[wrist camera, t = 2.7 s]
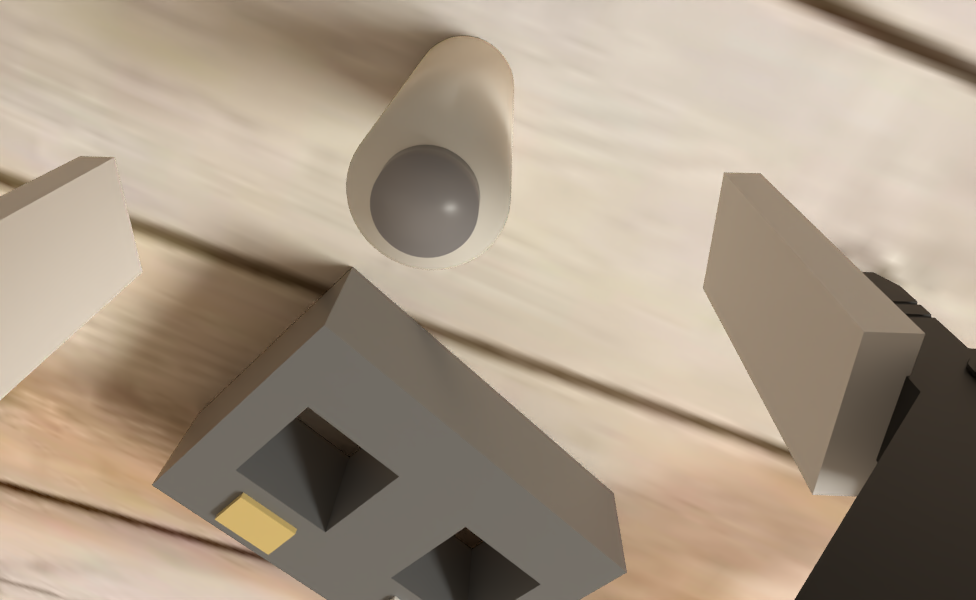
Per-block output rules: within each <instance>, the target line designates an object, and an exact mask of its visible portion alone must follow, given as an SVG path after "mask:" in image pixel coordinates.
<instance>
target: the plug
mask: <svg viewBox="0 0 976 600" xmlns="http://www.w3.org/2000/svg"><path fill="white" fill-rule="evenodd" d="M513 110H514V80H513V75H512V72H511V69H510V66H509V64H508V62H507V61H506V59H505V57H504V56H503V55H502V54H501V52H500V51H499V50H497V49H496V48H495V47H494V46H493V45H491V44H490V43H488V42H486V41H484V40H482V39H479V38H476V37H472V36H456V37H451V38H448V39H445V40H443V41H441V42H439V43H438V44H436V45H435V46H434V47H432V48H431V49H430V50H429V51H428V52H427V54H426V55H425V56H424V58H423V59H422V60H421V62H420V63H419V64H418V66H417V67H416V68H415V70H414V71H413V73H412V74H411V75H410V77H409V78H408V79H407V81H406V82H405V83H404V85H403V86H402V88H401V89H400V90H399V92H398V93H397V94H396V96H395V97H394V99H393V100H392V101H391V103H390V104H389V105H388V107H387V108H386V109H385V111H384V112H383V114H382V115H381V116H380V118H379V119H378V120H377V122H376V123H375V124H374V126H373V127H372V129H371V130H370V131H369V133H368V134H367V135H366V137H365V138H364V139H363V141H362V142H361V144H360V145H359V147H358V148H357V150H356V152H355V153H354V155H353V158H352V160H351V162H350V166H349V169H348V173H347V182H346V193H347V200H348V205H349V209H350V212H351V215H352V217H353V219H354V222H355V224H356V225H357V227H358V229H359V230H360V232H361V233H362V235H363V236H364V237H365V238H366V240H367V241H368V242H369V243H370V244H371V245H372V246H373V247H374V248H375V249H377V250H378V251H379V252H381V253H382V254H383V255H385V256H386V257H388V258H390V259H391V260H394V261H396V262H398V263H400V264H403V265H406V266H409V267H413V268H417V269H425V270H442V269H449V268H453V267H457V266H460V265H463V264H465V263H468V262H470V261H472V260H473V259H475V258H477V257H478V256H480V255H481V254H482V253H484V252H485V251H486V250H487V249H488V248H489V247H490V246H491V245H492V244H493V243H494V242H495V240H496V239H497V238H498V236H499V235H500V233H501V231H502V229H503V228H504V225H505V223H506V220H507V218H508V213H509V209H510V201H511V175H512V142H513Z"/></svg>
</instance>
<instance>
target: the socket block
mask: <svg viewBox="0 0 976 600" xmlns="http://www.w3.org/2000/svg"><path fill="white" fill-rule="evenodd" d="M307 407H309V408H310V409H311V410H313V411H314V412H315V413H316V414H318V415H319V416H320V417H322V418H323V419H324V420H326V421H327V422H328V423H330V424H331V425H332V426H334V427H335V428H336V429H337V430H339V431H340V432H341V433H343V434H344V435H345V436H347V437H348V438H349V439H351V440H352V441H353V442H355V443H356V444H357V445H359V446H360V447H361V449H359V450H358V451H357V452H356V453H354V454H353V455H352V456H351V457H348V456H347V455H345V454H344V453H343V452H341V451H340V450H339V449H337V448H336V447H335V446H333V445H332V444H331V443H329V442H328V441H327V440H325V439H324V438H323V437H321V436H320V435H319V434H317V433H316V432H315V431H313V430H312V429H311V428H309V427H308V426H307V425H305V424H304V423H303V422H301V421H300V420H299V419H297V418H296V417H297V416H298V415H299V414H301V413H302V412H303V411H304V410H305V409H306V408H307ZM152 485H153V486H154V487H156V488H157V489H159V490H160V491H162V492H163V493H165V494H166V495H168V496H169V497H171V498H172V499H174V500H175V501H177V502H179V503H180V504H182V505H183V506H185V507H186V508H188V509H189V510H191V511H192V512H194V513H195V514H197V515H198V516H200V517H201V518H203V519H204V520H206V521H208V522H209V523H211V524H212V525H214V526H215V527H217V528H218V529H220V530H221V531H223V532H224V533H226V534H227V535H229V536H230V537H232V538H234V539H235V540H237V541H238V542H240V543H241V544H243V545H244V546H246V547H247V548H249V549H250V550H252V551H253V552H255V553H256V554H258V555H260V556H261V557H263V558H264V559H266V560H267V561H269V562H270V563H272V564H273V565H275V566H276V567H278V568H279V569H281V570H282V571H284V572H286V573H287V574H289V575H290V576H292V577H293V578H295V579H296V580H298V581H299V582H301V583H302V584H304V585H305V586H307V587H308V588H310V589H311V590H313V591H315V592H316V593H318V594H319V595H321V596H322V597H324V598H325V599H327V600H580V599H582V598H583V597H585V596H587V595H589V594H590V593H592V592H594V591H595V590H597V589H599V588H601V587H602V586H604V585H606V584H608V583H609V582H611V581H613V580H614V579H616V578H618V577H620V576H621V575H623V574H625V573H627V570H626V564H625V558H624V552H623V546H622V540H621V534H620V528H619V522H618V516H617V510H616V504H615V498H614V493H613V492H611V491H610V490H609V489H608V488H607V487H606V486H604V485H603V484H602V483H601V482H600V481H599V480H598V479H596V478H595V477H594V476H593V475H592V474H591V473H589V472H588V471H587V470H586V469H585V468H584V467H583V466H581V465H580V464H579V463H578V462H577V461H576V460H575V459H573V458H572V457H571V456H570V455H569V454H568V453H566V452H565V451H564V450H563V449H562V448H561V447H560V446H558V445H557V444H556V443H555V442H554V441H553V440H551V439H550V438H549V437H548V436H547V435H546V434H545V433H543V432H542V431H541V430H540V429H539V428H538V427H536V426H535V425H534V424H533V423H532V422H531V421H530V420H528V419H527V418H526V417H525V416H524V415H523V414H521V413H520V412H519V411H518V410H517V409H516V408H515V407H513V406H512V405H511V404H510V403H509V402H508V401H507V400H505V399H504V398H503V397H502V396H501V395H500V394H498V393H497V392H496V391H495V390H494V389H493V388H492V387H490V386H489V385H488V384H487V383H486V382H485V381H483V380H482V379H481V378H480V377H479V376H478V375H477V374H475V373H474V372H473V371H472V370H471V369H470V368H468V367H467V366H466V365H465V364H464V363H463V362H462V361H460V360H459V359H458V358H457V357H456V356H455V355H453V354H452V353H451V352H450V351H449V350H448V349H447V348H445V347H444V346H443V345H442V344H441V343H440V342H439V341H437V340H436V339H435V338H434V337H433V336H432V335H430V334H429V333H428V332H427V331H426V330H425V329H424V328H422V327H421V326H420V325H419V324H418V323H417V322H415V321H414V320H413V319H412V318H411V317H410V316H409V315H407V314H406V313H405V312H404V311H403V310H402V309H400V308H399V307H398V306H397V305H396V304H395V303H394V302H392V301H391V300H390V299H389V298H388V297H387V296H385V295H384V294H383V293H382V292H381V291H380V290H379V289H377V288H376V287H375V286H374V285H373V284H372V283H371V282H369V281H368V280H367V279H366V278H365V277H364V276H362V275H361V274H360V273H359V272H358V271H357V270H356V269H354V268H353V267H352V268H351V269H350V270H349V271H348V272H347V273H346V274H345V275H344V276H343V277H342V278H341V279H340V280H339V281H338V282H337V283H336V284H334V285H333V286H332V287H331V288H330V289H329V290H328V291H327V292H326V293H325V294H324V295H323V296H322V297H321V298H320V299H319V300H318V301H317V302H316V303H315V304H314V305H312V306H311V307H310V308H309V309H308V310H307V311H306V312H305V313H304V314H303V315H302V316H301V317H300V318H299V319H298V320H297V321H296V322H295V323H294V324H293V325H291V326H290V327H289V328H288V329H287V330H286V331H285V332H284V333H283V334H282V335H281V336H280V337H279V338H278V339H277V340H276V341H275V342H274V343H273V344H272V345H270V346H269V347H268V348H267V349H266V350H265V351H264V352H263V353H262V354H261V355H260V356H259V357H258V358H257V359H256V360H255V361H254V362H253V363H252V364H251V365H250V366H248V367H247V368H246V369H245V370H244V371H243V372H242V373H241V374H240V375H239V376H238V377H237V378H236V379H235V380H234V381H233V382H232V383H231V384H230V385H229V386H227V387H226V388H225V389H224V390H223V391H222V392H221V393H220V394H219V395H218V396H217V397H216V398H215V399H214V400H213V401H212V402H211V403H210V404H209V405H208V406H206V407H205V408H204V409H203V410H202V411H201V412H200V413H199V414H198V416H197V417H196V419H195V420H194V422H193V423H192V425H191V426H190V428H189V429H188V431H187V432H186V434H185V435H184V437H183V438H182V440H181V441H180V443H179V445H178V446H177V448H176V449H175V451H174V452H173V454H172V455H171V457H170V458H169V460H168V461H167V463H166V464H165V466H164V467H163V469H162V470H161V472H160V473H159V475H158V476H157V478H156V479H155V481H154V483H153V484H152ZM465 527H466V528H468V529H469V530H470V531H471V532H473V533H474V534H475V535H477V536H478V537H479V538H481V539H482V540H483V541H484V542H482V543H481V544H479V545H478V546H476V547H475V548H473V549H471V548H469V547H468V546H467V545H465V544H464V543H463V542H461V541H460V540H459V539H457V538H456V537H455V536H453V535H454V534H456V533H457V532H459V531H460V530H462V529H463V528H465Z"/></svg>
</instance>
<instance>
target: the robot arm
mask: <svg viewBox="0 0 976 600" xmlns="http://www.w3.org/2000/svg"><path fill="white" fill-rule="evenodd" d="M142 272H143V271H142V267H141V263H140V259H139V255H138V251H137V247H136V243H135V238H134V234H133V230H132V226H131V222H130V218H129V214H128V210H127V206H126V202H125V198H124V194H123V190H122V186H121V181H120V177H119V173H118V169H117V165H116V161H115V157H85V156H80V157H78V158H76V159H74V160H72V161H70V162H68V163H66V164H64V165H62V166H60V167H58V168H56V169H54V170H52V171H50V172H48V173H46V174H44V175H42V176H40V177H38V178H36V179H34V180H32V181H30V182H28V183H26V184H24V185H22V186H20V187H18V188H16V189H14V190H12V191H10V192H8V193H6V194H4V195H2V196H0V400H1V399H2V398H3V397H4V396H5V395H6V394H8V393H9V392H10V391H11V390H12V389H13V388H14V387H15V386H16V385H18V384H19V383H20V382H21V381H22V380H23V379H24V378H25V377H26V376H28V375H29V374H30V373H31V372H32V371H33V370H34V369H35V368H36V367H38V366H39V365H40V364H41V363H42V362H43V361H44V360H45V359H46V358H48V357H49V356H50V355H51V354H52V353H53V352H54V351H55V350H56V349H58V348H59V347H60V346H61V345H62V344H63V343H64V342H65V341H66V340H68V339H69V338H70V337H71V336H72V335H73V334H74V333H75V332H76V331H78V330H79V329H80V328H81V327H82V326H83V325H84V324H85V323H86V322H88V321H89V320H90V319H91V318H92V317H93V316H94V315H95V314H96V313H98V312H99V311H100V310H101V309H102V308H103V307H104V306H105V305H106V304H108V303H109V302H110V301H111V300H112V299H113V298H114V297H115V296H116V295H118V294H119V293H120V292H121V291H122V290H123V289H124V288H125V287H126V286H128V285H129V284H130V283H131V282H132V281H133V280H134V279H135V278H136V277H138V276H139V275H140V274H141V273H142ZM703 289H704V291H705V293H706V295H707V297H708V299H709V300H710V302H711V304H712V306H713V308H714V310H715V312H716V314H717V316H718V317H719V319H720V321H721V323H722V325H723V327H724V329H725V331H726V332H727V334H728V336H729V338H730V340H731V342H732V344H733V346H734V348H735V349H736V351H737V353H738V355H739V357H740V359H741V361H742V363H743V365H744V366H745V368H746V370H747V372H748V374H749V376H750V378H751V380H752V381H753V383H754V385H755V387H756V389H757V391H758V393H759V395H760V397H761V398H762V400H763V402H764V404H765V406H766V408H767V410H768V412H769V414H770V415H771V417H772V419H773V421H774V423H775V425H776V427H777V429H778V430H779V432H780V434H781V436H782V438H783V440H784V442H785V444H786V446H787V447H788V449H789V451H790V453H791V455H792V457H793V459H794V461H795V463H796V464H797V466H798V468H799V470H800V472H801V474H802V476H803V478H804V479H805V481H806V483H807V485H808V487H809V489H810V491H811V493H812V495H833V496H857V498H856V499H855V501H854V503H853V504H852V506H851V508H850V509H849V511H848V513H847V514H846V516H845V517H844V519H843V521H842V522H841V524H840V526H839V527H838V529H837V531H836V532H835V534H834V536H833V537H832V539H831V541H830V542H829V544H828V545H827V547H826V549H825V550H824V552H823V554H822V555H821V557H820V559H819V560H818V562H817V564H816V565H815V567H814V569H813V570H812V572H811V573H810V575H809V577H808V578H807V580H806V582H805V583H804V585H803V587H802V588H801V590H800V592H799V593H798V595H797V597H796V598H795V600H976V349H970V348H967V347H966V346H965V345H964V344H963V343H962V342H961V341H960V340H959V339H957V338H956V337H955V336H954V335H953V334H952V333H951V332H950V331H949V330H948V329H947V328H945V327H944V326H943V325H942V324H941V323H940V322H939V321H938V320H937V319H936V318H931V314H930V313H929V312H928V311H927V310H926V309H925V308H923V307H922V306H921V305H917V301H916V300H915V299H914V298H913V297H911V296H910V295H909V294H908V293H907V292H906V291H905V290H904V289H903V288H902V287H900V286H899V285H897V284H895V283H893V282H891V281H889V280H887V279H885V278H883V277H881V276H879V275H877V274H875V273H873V272H861V271H860V270H859V269H858V268H857V267H856V266H855V265H854V264H853V263H852V262H851V261H850V260H849V259H848V258H847V257H846V256H845V255H844V254H843V253H842V252H841V251H840V250H839V249H838V248H837V247H836V246H835V245H834V244H833V243H832V242H830V241H829V240H828V239H827V238H826V237H825V236H824V235H823V234H822V233H821V232H820V231H819V230H818V229H817V228H816V227H815V226H814V225H813V224H812V223H811V222H810V221H809V220H808V219H807V218H806V217H805V216H804V215H803V214H802V213H801V212H800V211H799V210H798V209H797V208H796V207H794V206H793V205H792V204H791V203H790V202H789V201H788V200H787V199H786V198H785V197H784V196H783V195H782V194H781V193H780V192H779V191H778V190H777V189H776V188H775V187H774V186H773V185H772V184H771V183H770V182H769V181H768V180H767V179H766V178H765V177H764V176H763V175H762V174H761V173H724V175H723V181H722V186H721V192H720V197H719V203H718V208H717V214H716V220H715V225H714V231H713V236H712V242H711V247H710V253H709V258H708V264H707V269H706V275H705V280H704V286H703Z"/></svg>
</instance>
